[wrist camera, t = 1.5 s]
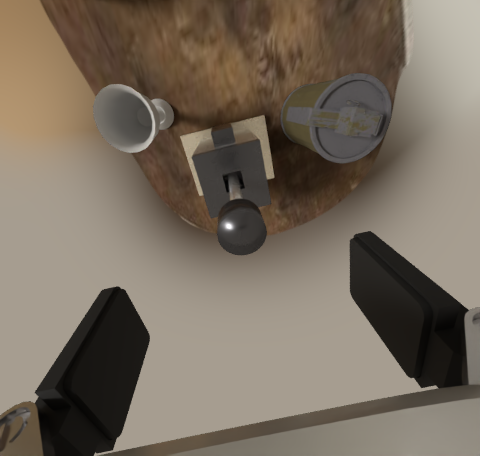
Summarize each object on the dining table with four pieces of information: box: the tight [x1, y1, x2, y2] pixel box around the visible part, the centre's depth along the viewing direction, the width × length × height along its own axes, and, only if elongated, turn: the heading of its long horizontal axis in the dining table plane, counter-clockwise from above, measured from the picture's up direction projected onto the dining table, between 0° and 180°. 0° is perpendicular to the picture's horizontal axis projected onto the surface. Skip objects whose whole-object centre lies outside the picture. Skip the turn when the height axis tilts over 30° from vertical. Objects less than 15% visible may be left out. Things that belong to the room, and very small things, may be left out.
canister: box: [281, 73, 391, 163], centre depth 37 cm, size 11×10×20 cm
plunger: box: [217, 170, 267, 255], centre depth 29 cm, size 6×6×22 cm
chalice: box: [93, 84, 174, 153], centre depth 36 cm, size 7×7×18 cm
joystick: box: [180, 115, 275, 218], centre depth 40 cm, size 16×12×17 cm
